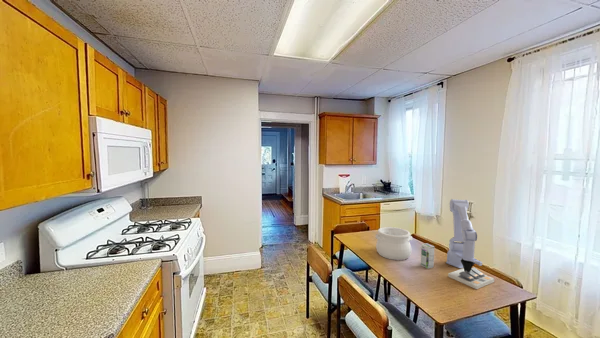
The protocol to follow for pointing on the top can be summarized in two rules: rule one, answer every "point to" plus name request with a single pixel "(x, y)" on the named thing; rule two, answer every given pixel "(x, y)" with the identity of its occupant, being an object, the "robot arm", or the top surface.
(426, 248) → the syrup box
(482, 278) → the switch panel
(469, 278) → the rocker
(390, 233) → the pot
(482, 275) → the rocker
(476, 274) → the rocker
